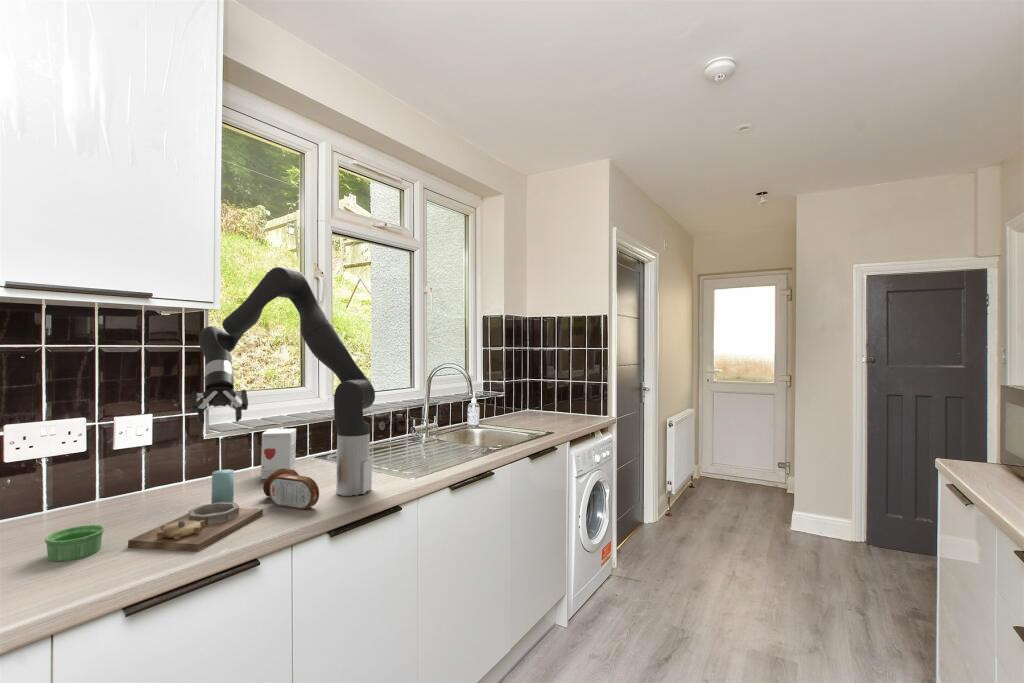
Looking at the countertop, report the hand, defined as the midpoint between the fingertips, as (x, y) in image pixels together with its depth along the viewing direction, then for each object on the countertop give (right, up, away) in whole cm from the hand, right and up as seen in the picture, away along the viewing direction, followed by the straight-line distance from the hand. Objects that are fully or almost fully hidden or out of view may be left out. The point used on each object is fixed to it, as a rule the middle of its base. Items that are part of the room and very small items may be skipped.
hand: (220, 420), depth 137 cm
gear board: (+10, -21, -25) cm, 34 cm away
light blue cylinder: (+6, -22, -9) cm, 24 cm away
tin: (+24, -22, -8) cm, 34 cm away
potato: (+17, -22, +2) cm, 28 cm away
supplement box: (+5, -22, +23) cm, 33 cm away
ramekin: (-7, -21, -38) cm, 44 cm away
